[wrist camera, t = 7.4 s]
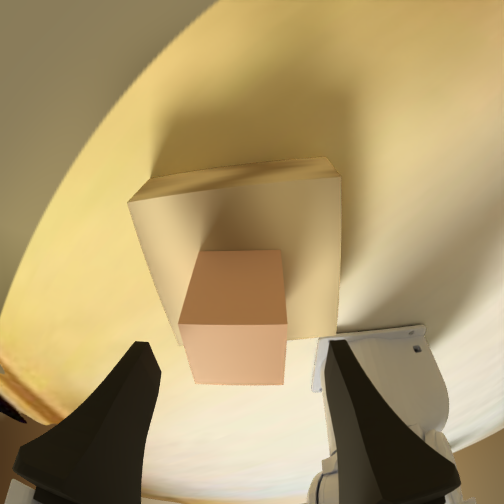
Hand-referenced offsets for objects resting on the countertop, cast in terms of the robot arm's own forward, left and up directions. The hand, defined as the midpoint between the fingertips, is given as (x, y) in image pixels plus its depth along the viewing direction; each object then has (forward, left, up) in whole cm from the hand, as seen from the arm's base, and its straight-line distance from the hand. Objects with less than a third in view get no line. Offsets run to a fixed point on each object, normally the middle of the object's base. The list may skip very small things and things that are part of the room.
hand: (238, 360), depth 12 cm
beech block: (0, 0, -9) cm, 9 cm away
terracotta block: (0, 0, -5) cm, 5 cm away
